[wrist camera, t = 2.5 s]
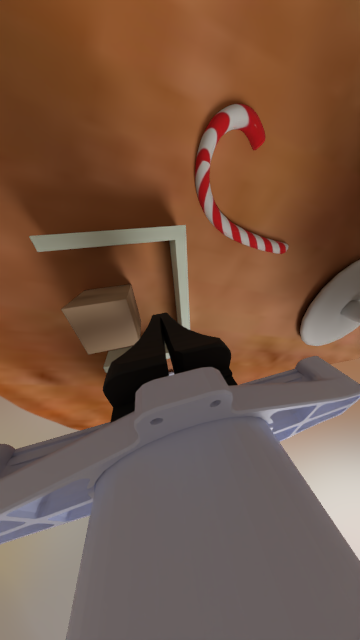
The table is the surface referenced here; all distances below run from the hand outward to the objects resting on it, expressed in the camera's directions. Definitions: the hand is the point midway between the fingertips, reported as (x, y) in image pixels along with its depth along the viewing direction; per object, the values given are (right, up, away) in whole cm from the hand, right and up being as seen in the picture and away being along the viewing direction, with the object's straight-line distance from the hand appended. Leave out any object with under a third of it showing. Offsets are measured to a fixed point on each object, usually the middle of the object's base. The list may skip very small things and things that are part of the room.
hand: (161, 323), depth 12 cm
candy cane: (+9, +13, +3) cm, 16 cm away
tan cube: (-6, +2, +4) cm, 8 cm away
